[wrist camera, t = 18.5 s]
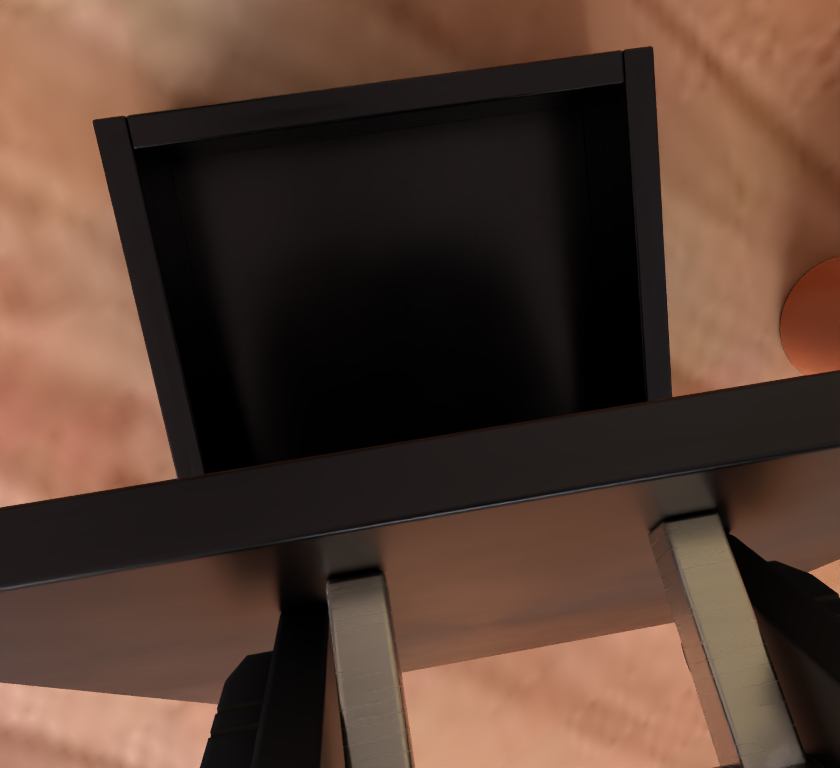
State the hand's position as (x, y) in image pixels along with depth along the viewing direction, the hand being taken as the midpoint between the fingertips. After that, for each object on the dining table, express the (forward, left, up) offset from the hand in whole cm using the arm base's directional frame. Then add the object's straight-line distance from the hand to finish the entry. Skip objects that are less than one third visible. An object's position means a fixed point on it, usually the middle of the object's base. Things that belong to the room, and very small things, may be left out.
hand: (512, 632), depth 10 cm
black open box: (-1, 0, -17) cm, 17 cm away
